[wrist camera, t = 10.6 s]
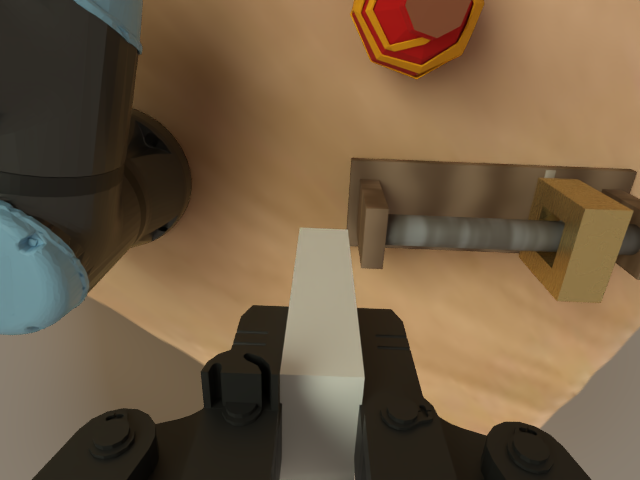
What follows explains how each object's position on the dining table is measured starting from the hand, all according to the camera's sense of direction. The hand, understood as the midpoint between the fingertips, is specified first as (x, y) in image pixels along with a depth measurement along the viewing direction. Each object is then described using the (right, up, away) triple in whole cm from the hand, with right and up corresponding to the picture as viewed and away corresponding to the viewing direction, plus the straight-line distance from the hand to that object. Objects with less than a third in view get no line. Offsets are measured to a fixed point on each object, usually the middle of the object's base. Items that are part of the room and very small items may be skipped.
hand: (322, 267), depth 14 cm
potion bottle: (+8, +22, +27) cm, 36 cm away
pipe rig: (+18, +5, +35) cm, 40 cm away
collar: (+24, +3, +32) cm, 40 cm away
